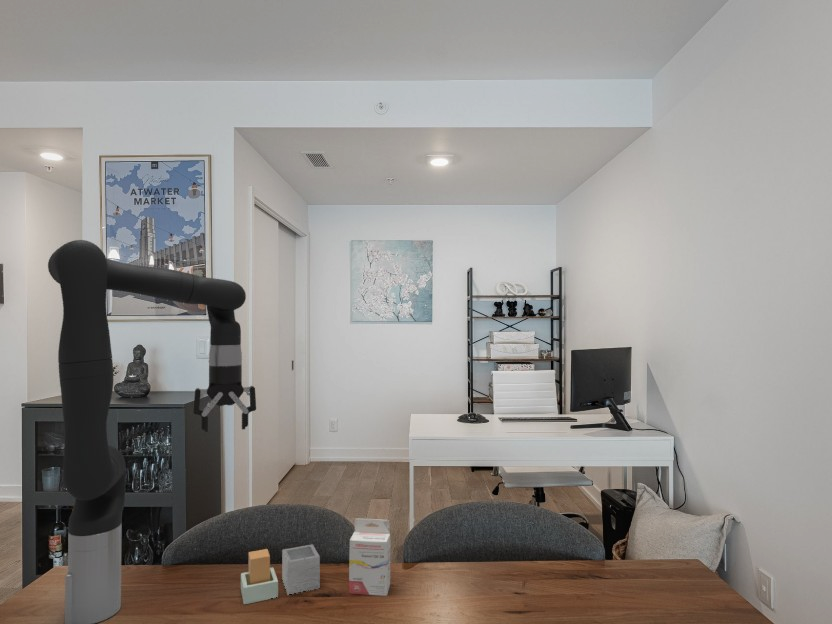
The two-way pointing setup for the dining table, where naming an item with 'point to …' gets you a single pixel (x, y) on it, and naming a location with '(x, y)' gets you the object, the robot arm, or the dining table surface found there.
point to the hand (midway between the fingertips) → (225, 430)
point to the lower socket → (259, 589)
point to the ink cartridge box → (370, 558)
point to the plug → (258, 567)
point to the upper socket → (300, 569)
